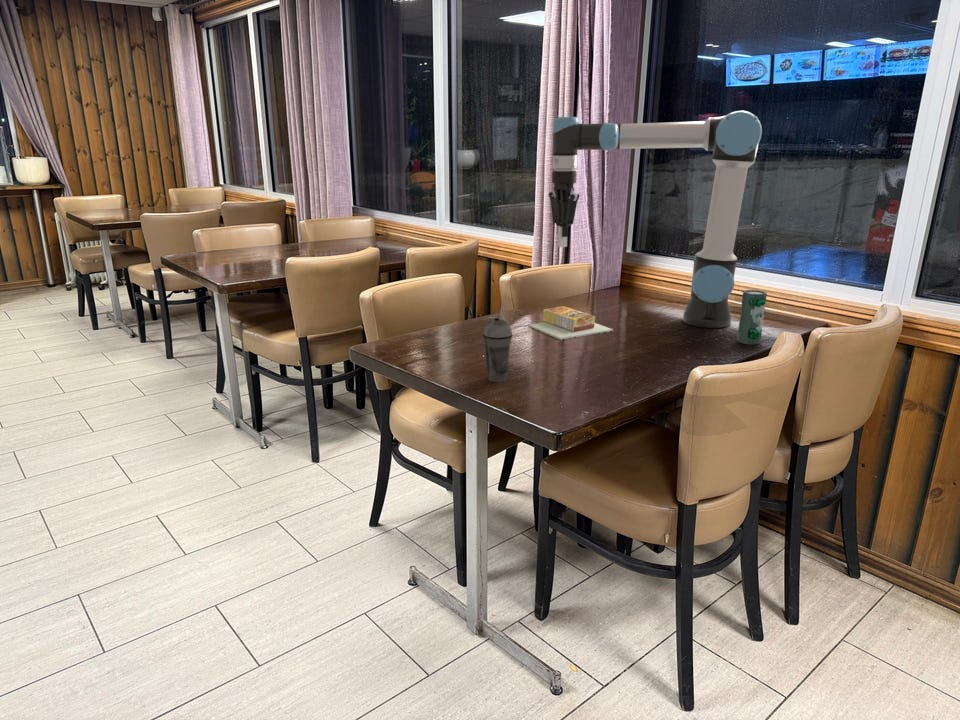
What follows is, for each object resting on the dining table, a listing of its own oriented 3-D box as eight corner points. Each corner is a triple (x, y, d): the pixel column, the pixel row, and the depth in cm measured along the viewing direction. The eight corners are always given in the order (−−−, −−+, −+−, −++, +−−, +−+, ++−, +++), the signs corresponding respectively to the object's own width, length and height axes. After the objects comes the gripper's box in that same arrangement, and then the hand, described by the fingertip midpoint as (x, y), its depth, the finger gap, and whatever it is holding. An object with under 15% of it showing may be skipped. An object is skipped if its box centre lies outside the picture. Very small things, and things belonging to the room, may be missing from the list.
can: (754, 345, 194) (761, 295, 189) (734, 341, 197) (740, 292, 193) (762, 341, 198) (769, 291, 193) (742, 337, 202) (748, 289, 197)
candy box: (563, 305, 221) (595, 314, 209) (563, 318, 222) (594, 327, 210) (542, 309, 216) (574, 319, 204) (542, 321, 217) (573, 332, 205)
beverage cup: (481, 374, 170) (481, 298, 164) (509, 373, 170) (510, 297, 164) (484, 384, 163) (484, 305, 157) (513, 383, 164) (514, 304, 157)
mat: (612, 331, 209) (612, 329, 208) (560, 340, 199) (560, 338, 199) (578, 318, 224) (578, 316, 223) (528, 326, 214) (528, 324, 214)
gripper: (542, 169, 208) (540, 245, 216) (567, 171, 198) (565, 250, 205) (561, 169, 212) (559, 243, 219) (587, 170, 201) (584, 248, 209)
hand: (562, 246), depth 212 cm, fingers closed
